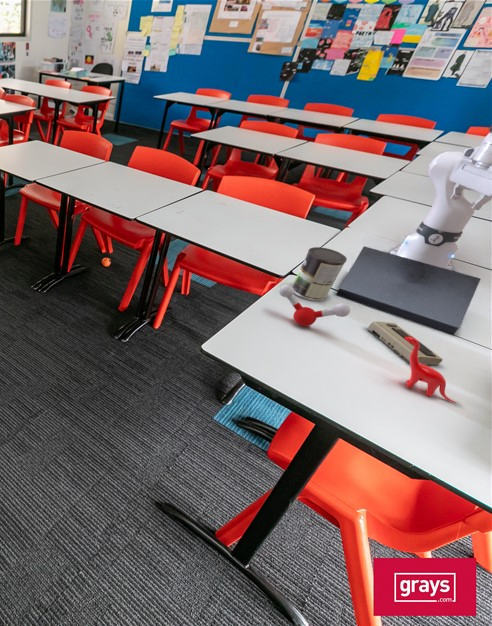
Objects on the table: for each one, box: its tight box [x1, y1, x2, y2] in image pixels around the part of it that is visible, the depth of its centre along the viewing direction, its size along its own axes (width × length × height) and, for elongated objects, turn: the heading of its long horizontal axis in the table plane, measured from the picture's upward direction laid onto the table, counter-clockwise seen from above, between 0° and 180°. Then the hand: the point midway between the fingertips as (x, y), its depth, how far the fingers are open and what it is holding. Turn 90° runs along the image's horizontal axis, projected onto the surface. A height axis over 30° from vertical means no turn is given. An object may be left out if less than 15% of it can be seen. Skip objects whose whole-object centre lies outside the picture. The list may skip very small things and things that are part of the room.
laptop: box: [335, 289, 458, 336], centre depth 135 cm, size 21×30×2 cm
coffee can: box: [291, 246, 348, 302], centre depth 134 cm, size 10×10×14 cm
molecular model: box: [278, 284, 351, 327], centre depth 120 cm, size 18×6×10 cm, turn 46°
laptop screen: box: [338, 246, 482, 331], centre depth 131 cm, size 21×30×1 cm
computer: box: [367, 320, 444, 366], centre depth 115 cm, size 16×8×3 cm, turn 3°
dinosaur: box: [405, 336, 457, 404], centre depth 98 cm, size 4×15×12 cm, turn 50°
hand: (463, 204), depth 126 cm, fingers open, 8 cm apart
